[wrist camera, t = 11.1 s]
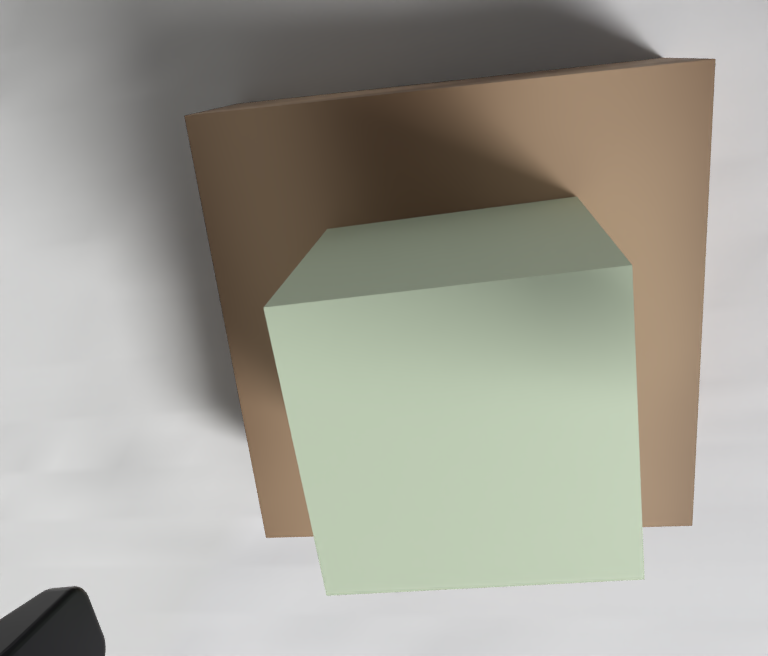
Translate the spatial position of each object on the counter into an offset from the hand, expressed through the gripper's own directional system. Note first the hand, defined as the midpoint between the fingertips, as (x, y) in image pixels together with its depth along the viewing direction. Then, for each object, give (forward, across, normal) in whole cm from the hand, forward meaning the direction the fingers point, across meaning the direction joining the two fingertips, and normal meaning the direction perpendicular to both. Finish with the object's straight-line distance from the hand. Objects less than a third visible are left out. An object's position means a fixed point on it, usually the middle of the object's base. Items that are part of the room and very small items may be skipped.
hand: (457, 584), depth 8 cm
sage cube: (+8, 0, 0) cm, 8 cm away
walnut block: (+12, 0, 0) cm, 12 cm away
